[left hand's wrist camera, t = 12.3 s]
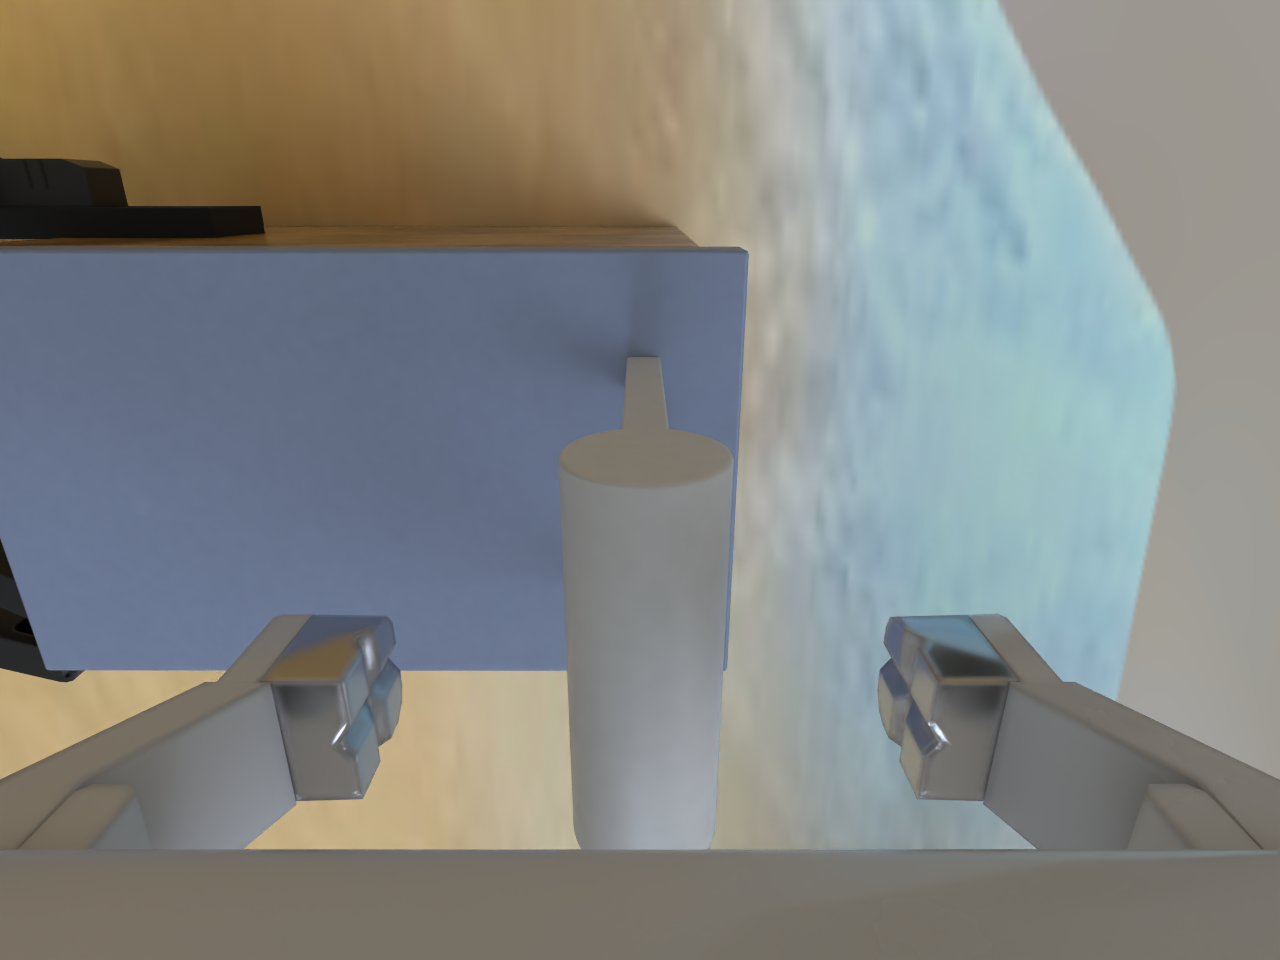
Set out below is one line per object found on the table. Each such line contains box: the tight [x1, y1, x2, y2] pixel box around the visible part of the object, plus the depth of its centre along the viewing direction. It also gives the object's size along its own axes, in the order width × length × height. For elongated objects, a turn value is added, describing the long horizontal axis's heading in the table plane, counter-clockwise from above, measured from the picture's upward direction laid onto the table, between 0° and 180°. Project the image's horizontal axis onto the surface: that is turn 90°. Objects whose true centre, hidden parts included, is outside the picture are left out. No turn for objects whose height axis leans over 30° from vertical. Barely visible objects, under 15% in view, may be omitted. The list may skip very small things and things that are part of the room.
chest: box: [0, 226, 699, 247], centre depth 23 cm, size 16×10×11 cm, turn 90°
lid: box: [0, 246, 749, 850], centre depth 13 cm, size 17×10×9 cm, turn 90°
